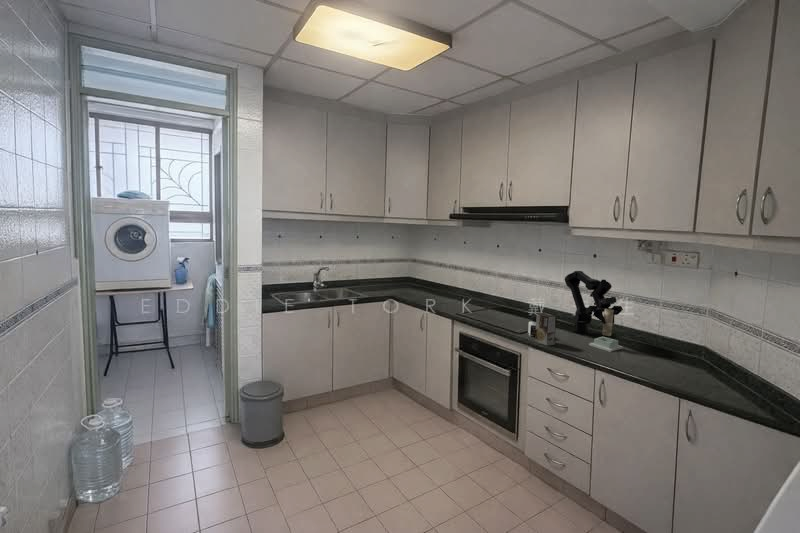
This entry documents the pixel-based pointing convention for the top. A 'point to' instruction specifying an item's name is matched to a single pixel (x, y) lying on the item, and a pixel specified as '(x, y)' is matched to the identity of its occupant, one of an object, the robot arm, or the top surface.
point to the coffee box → (545, 328)
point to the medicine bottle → (532, 326)
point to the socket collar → (606, 344)
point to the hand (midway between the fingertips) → (609, 323)
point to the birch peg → (608, 322)
